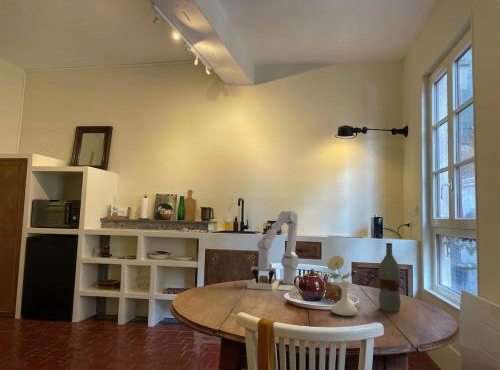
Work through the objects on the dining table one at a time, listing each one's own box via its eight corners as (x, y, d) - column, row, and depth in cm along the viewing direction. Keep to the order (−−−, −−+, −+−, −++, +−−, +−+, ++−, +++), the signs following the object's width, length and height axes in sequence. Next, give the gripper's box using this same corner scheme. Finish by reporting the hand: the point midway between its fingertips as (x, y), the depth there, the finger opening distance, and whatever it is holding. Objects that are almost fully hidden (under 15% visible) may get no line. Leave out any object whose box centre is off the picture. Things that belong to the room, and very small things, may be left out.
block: (261, 285, 215) (261, 275, 215) (267, 286, 213) (267, 275, 214) (259, 286, 211) (259, 276, 211) (265, 287, 210) (266, 276, 210)
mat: (280, 285, 215) (280, 285, 215) (294, 286, 213) (294, 286, 213) (276, 289, 204) (276, 289, 204) (290, 291, 201) (290, 290, 201)
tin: (319, 296, 189) (319, 280, 190) (324, 296, 190) (324, 280, 191) (338, 303, 175) (338, 285, 176) (343, 303, 177) (343, 285, 177)
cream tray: (255, 283, 222) (255, 278, 222) (278, 285, 217) (278, 279, 217) (247, 288, 207) (247, 282, 207) (272, 290, 202) (272, 284, 203)
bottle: (387, 312, 161) (386, 244, 163) (374, 307, 169) (374, 242, 172) (405, 311, 163) (404, 244, 165) (392, 306, 172) (391, 242, 174)
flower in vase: (355, 311, 162) (355, 254, 164) (360, 318, 151) (360, 257, 153) (325, 310, 163) (325, 253, 165) (328, 317, 152) (328, 256, 154)
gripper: (249, 260, 212) (249, 283, 211) (274, 261, 207) (273, 285, 206) (253, 258, 218) (253, 281, 217) (277, 260, 214) (276, 283, 213)
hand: (263, 283), depth 212 cm, fingers open, 7 cm apart
